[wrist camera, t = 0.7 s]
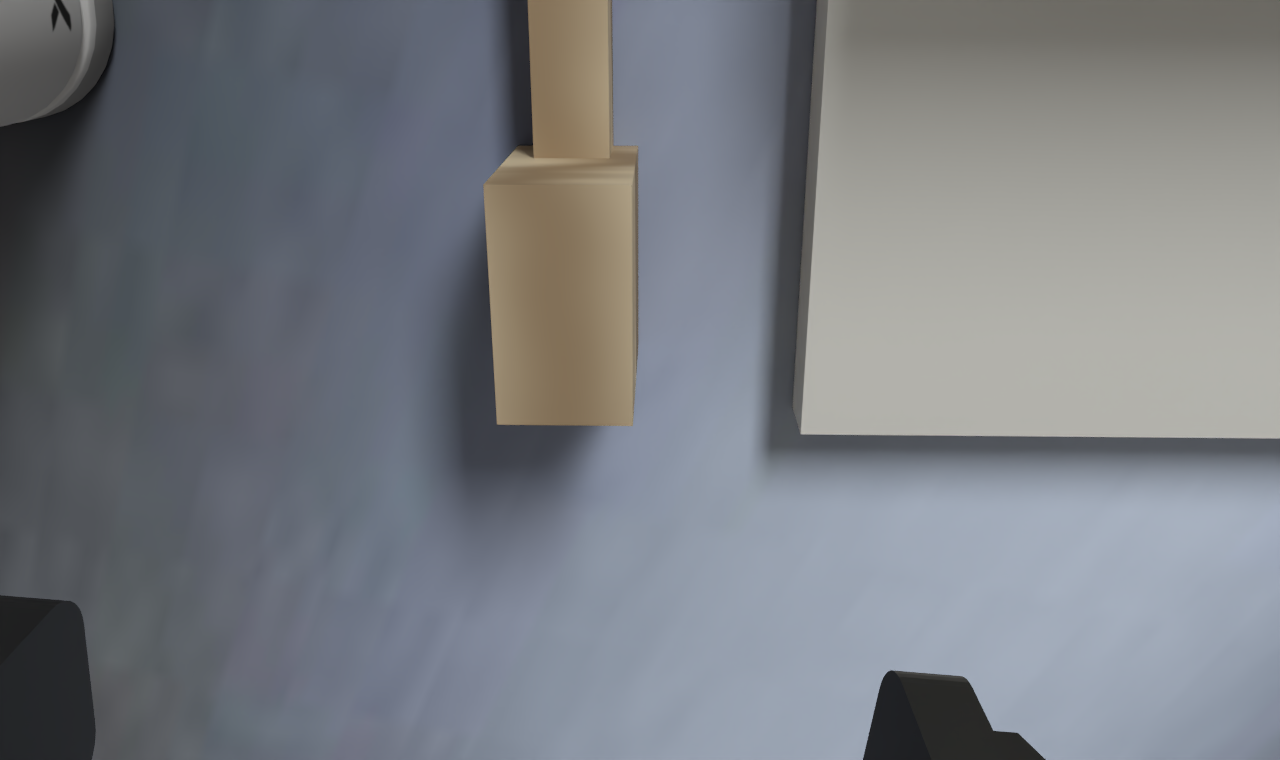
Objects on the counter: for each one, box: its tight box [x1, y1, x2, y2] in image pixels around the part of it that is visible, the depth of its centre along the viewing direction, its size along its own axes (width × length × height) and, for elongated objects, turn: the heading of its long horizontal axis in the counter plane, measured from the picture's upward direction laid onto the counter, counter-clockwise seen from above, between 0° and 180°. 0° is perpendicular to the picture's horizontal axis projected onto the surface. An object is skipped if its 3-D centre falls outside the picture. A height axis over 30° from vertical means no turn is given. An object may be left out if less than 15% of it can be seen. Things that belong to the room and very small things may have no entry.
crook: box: [483, 0, 638, 426], centre depth 25 cm, size 9×19×6 cm, turn 0°
